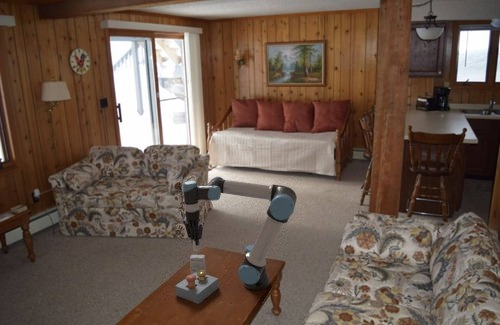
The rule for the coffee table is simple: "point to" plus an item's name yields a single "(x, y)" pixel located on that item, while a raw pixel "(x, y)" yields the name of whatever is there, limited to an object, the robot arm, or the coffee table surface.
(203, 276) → the brass plug
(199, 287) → the socket board
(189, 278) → the rust plug
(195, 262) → the ink box
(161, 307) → the coffee table surface
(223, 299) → the coffee table surface
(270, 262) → the coffee table surface
